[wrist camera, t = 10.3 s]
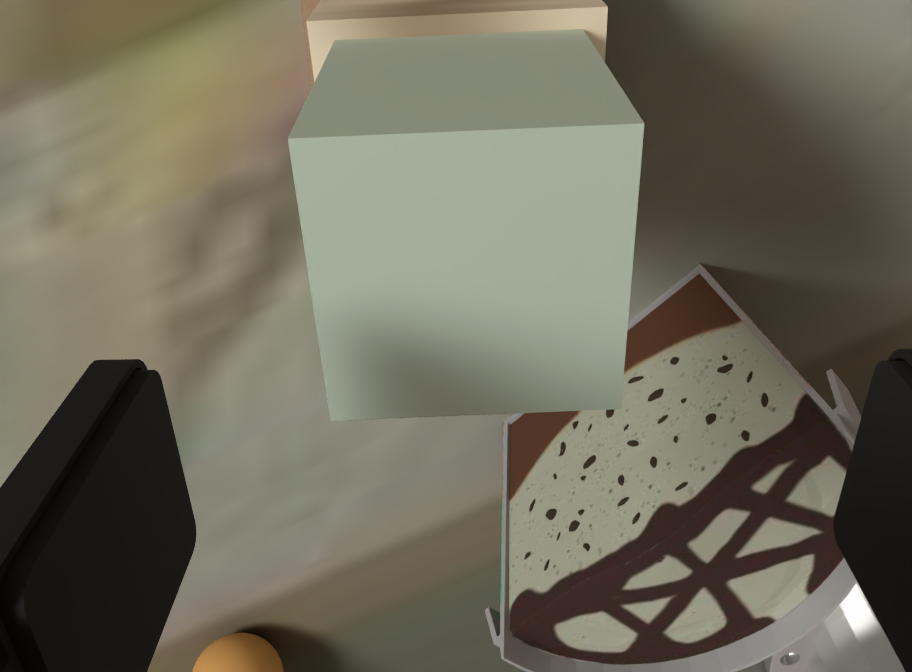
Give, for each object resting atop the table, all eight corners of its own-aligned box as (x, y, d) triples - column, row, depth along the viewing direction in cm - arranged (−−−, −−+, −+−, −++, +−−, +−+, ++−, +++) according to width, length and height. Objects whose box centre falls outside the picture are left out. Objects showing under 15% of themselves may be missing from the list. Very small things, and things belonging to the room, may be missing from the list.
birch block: (579, -26, 20) (608, 6, 17) (571, 207, 23) (594, 274, 20) (328, -15, 20) (306, 21, 17) (355, 217, 23) (340, 285, 20)
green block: (583, 28, 17) (644, 122, 12) (574, 252, 19) (621, 408, 14) (334, 40, 17) (287, 138, 12) (359, 261, 19) (330, 420, 14)
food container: (580, 523, 35) (626, 753, 26) (475, 444, 32) (487, 668, 24) (837, 341, 30) (993, 548, 22) (736, 234, 28) (866, 417, 19)
